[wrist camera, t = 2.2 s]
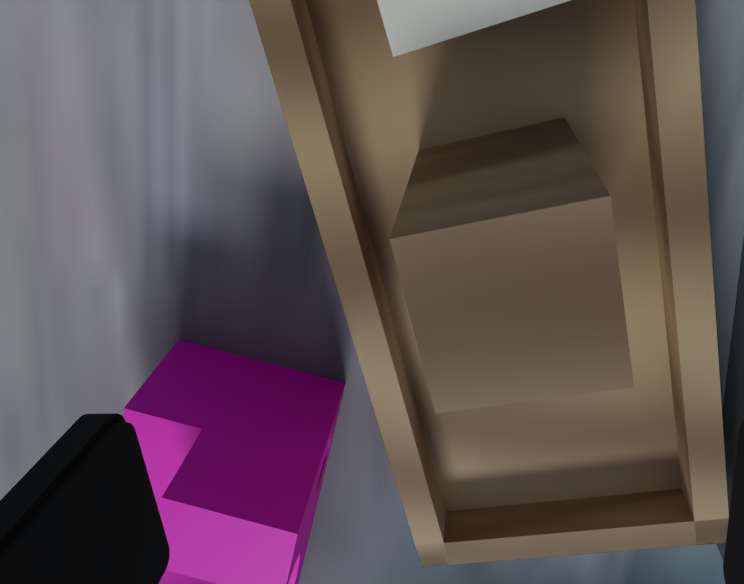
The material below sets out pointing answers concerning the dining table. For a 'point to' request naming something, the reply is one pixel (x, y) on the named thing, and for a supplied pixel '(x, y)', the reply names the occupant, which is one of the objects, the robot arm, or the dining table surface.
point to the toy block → (234, 462)
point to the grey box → (447, 19)
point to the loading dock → (734, 392)
